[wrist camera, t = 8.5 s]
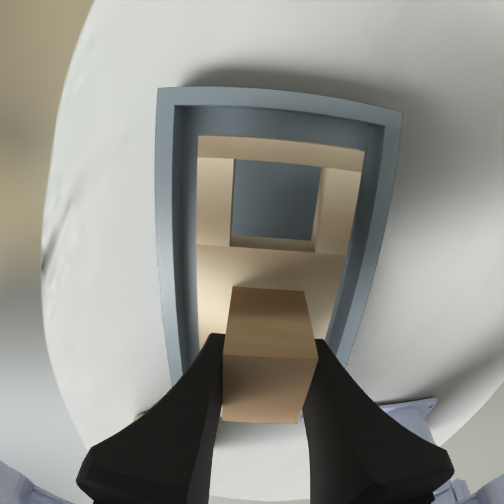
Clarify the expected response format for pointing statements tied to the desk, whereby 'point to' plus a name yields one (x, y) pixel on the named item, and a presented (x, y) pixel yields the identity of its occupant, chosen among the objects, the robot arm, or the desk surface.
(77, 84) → the desk surface
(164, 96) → the tray
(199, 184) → the wooden holder
